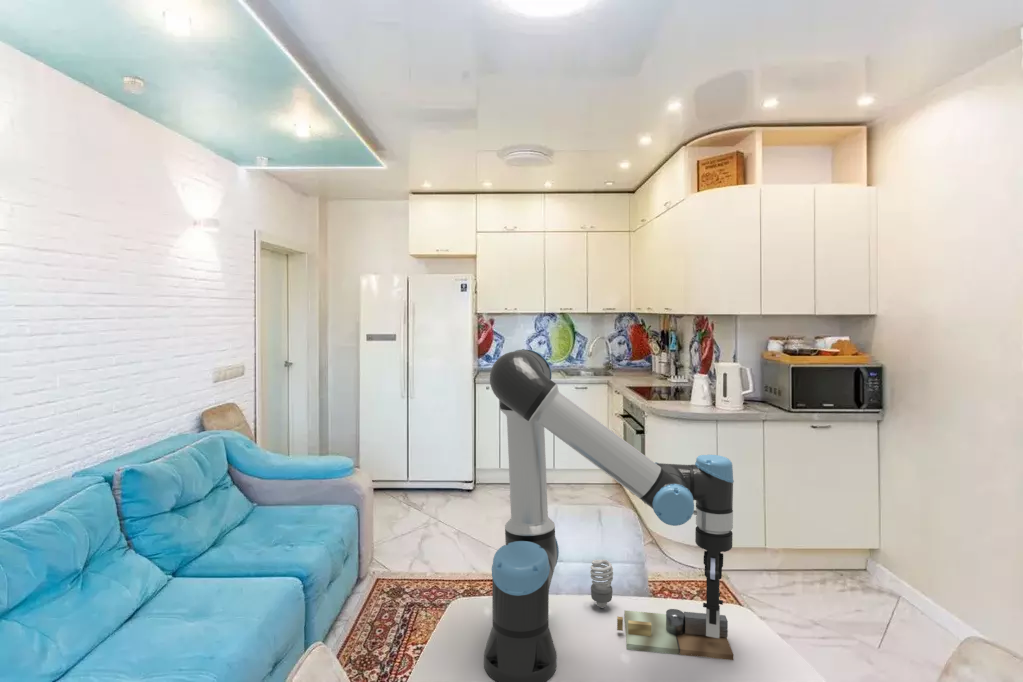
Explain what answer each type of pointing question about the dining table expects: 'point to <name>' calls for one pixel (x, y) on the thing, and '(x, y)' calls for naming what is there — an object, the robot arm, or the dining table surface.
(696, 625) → the bar
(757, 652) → the dining table surface
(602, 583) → the light bulb
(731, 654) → the door board
